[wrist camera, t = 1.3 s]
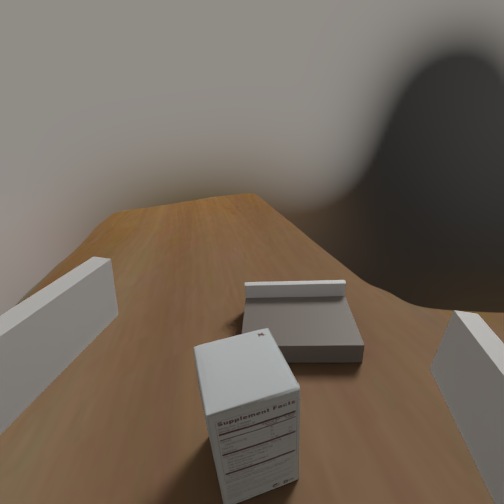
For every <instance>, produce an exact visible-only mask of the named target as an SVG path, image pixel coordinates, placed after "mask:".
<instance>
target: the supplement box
mask: <svg viewBox="0 0 504 504" xmlns="http://www.w3.org/2000/svg"><path fill="white" fill-rule="evenodd" d="M194 357H195V364H196V371H197V377H198V384H199V389H200V395H201V400H202V405H203V410H204V415H205V420H206V425H207V430H208V434H209V439H210V444H211V448H212V453H213V458H214V462H215V467H216V472H217V476H218V481H219V486H220V490H221V495H222V500H223V504H237V503H239V502H242V501H244V500H247V499H250V498H252V497H255V496H257V495H260V494H262V493H265V492H268V491H270V490H273V489H275V488H278V487H280V486H283V485H285V484H288V483H291V482H293V481H295V480H297V479H298V478H299V428H300V386H299V384H298V382H297V380H296V378H295V377H294V375H293V373H292V371H291V369H290V368H289V366H288V364H287V362H286V360H285V358H284V356H283V354H282V352H281V351H280V349H279V347H278V345H277V344H276V342H275V340H274V338H273V336H272V334H271V332H270V330H269V329H268V328H265V329H260V330H256V331H252V332H248V333H244V334H240V335H236V336H233V337H229V338H225V339H221V340H217V341H213V342H209V343H205V344H201V345H198V346H195V347H194Z"/></svg>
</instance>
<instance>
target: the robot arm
mask: <svg viewBox="0 0 504 504" xmlns="http://www.w3.org/2000/svg"><path fill="white" fill-rule="evenodd" d="M117 316H118V307H117V300H116V293H115V286H114V278H113V271H112V264H111V259H107V258H100V257H92V258H91V259H89V260H87V261H86V262H84V263H83V264H81V265H80V266H78V267H76V268H75V269H73V270H72V271H70V272H68V273H67V274H65V275H64V276H62V277H61V278H59V279H57V280H56V281H54V282H53V283H51V284H50V285H48V286H46V287H45V288H43V289H42V290H40V291H38V292H37V293H35V294H34V295H32V296H31V297H29V298H27V299H26V300H24V301H23V302H21V303H19V304H18V305H16V306H15V307H13V308H12V309H10V310H8V311H7V312H5V313H4V314H2V315H0V435H1V434H2V433H3V432H4V431H5V430H6V429H7V428H8V427H9V425H10V424H11V423H12V422H13V421H14V420H15V419H16V418H17V417H18V416H19V415H20V414H21V413H22V412H23V411H24V410H25V409H26V408H27V407H28V406H29V405H30V404H31V403H32V402H33V401H34V400H35V399H36V398H37V397H38V396H39V395H40V394H41V393H42V392H43V391H44V390H45V389H46V388H47V387H48V386H49V385H50V384H51V383H52V382H53V381H54V380H55V379H56V378H57V377H58V376H59V375H60V374H61V373H62V372H63V371H64V370H65V368H66V367H67V366H68V365H69V364H70V363H71V362H72V361H73V360H74V359H75V358H76V357H77V356H78V355H79V354H80V353H81V352H82V351H83V350H84V349H85V348H86V347H87V346H88V345H89V344H90V343H91V342H92V341H93V340H94V339H95V338H96V337H97V336H98V335H99V334H100V333H101V332H102V331H103V330H104V329H105V328H106V327H107V326H108V325H109V324H110V323H111V322H112V321H113V320H114V319H115V318H116V317H117ZM430 371H431V373H432V375H433V377H434V379H435V381H436V383H437V385H438V387H439V389H440V391H441V393H442V396H443V398H444V400H445V402H446V404H447V406H448V408H449V410H450V412H451V414H452V416H453V418H454V420H455V422H456V425H457V427H458V429H459V431H460V433H461V435H462V437H463V439H464V441H465V443H466V445H467V447H468V449H469V451H470V454H471V456H472V458H473V460H474V462H475V464H476V466H477V468H478V470H479V472H480V474H481V476H482V478H483V480H484V483H485V485H486V487H487V489H488V491H489V493H490V495H491V497H492V499H493V501H494V503H495V504H504V344H503V342H502V341H501V340H500V339H499V338H498V337H497V336H496V334H495V333H494V332H493V331H492V330H491V329H490V327H489V326H488V325H487V324H486V323H485V322H484V321H483V319H482V318H481V317H480V316H479V315H478V314H475V313H469V312H462V311H455V310H454V312H453V314H452V317H451V319H450V321H449V324H448V326H447V329H446V331H445V333H444V336H443V338H442V341H441V343H440V345H439V348H438V350H437V352H436V355H435V357H434V360H433V362H432V364H431V367H430Z"/></svg>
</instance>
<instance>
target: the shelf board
mask: <svg viewBox="0 0 504 504" xmlns="http://www.w3.org/2000/svg"><path fill="white" fill-rule="evenodd" d="M345 290H346V282H345V280H322V281H281V282H245V293H246V301H245V309H244V318H243V326H242V334H244V333H248V332H252V331H256V330H260V329H265V328H268V329H269V330H270V332H271V334H272V336H273V338H274V340H275V342H276V344H277V345H278V347H279V349H280V351H281V352H282V354H283V356H284V358H285V360H286V362H287V363H356V362H362V359H363V351H364V343H363V341H362V338H361V335H360V333H359V330H358V328H357V325H356V323H355V320H354V318H353V315H352V313H351V310H350V307H349V305H348V302H347V300H346V297H345Z"/></svg>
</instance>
